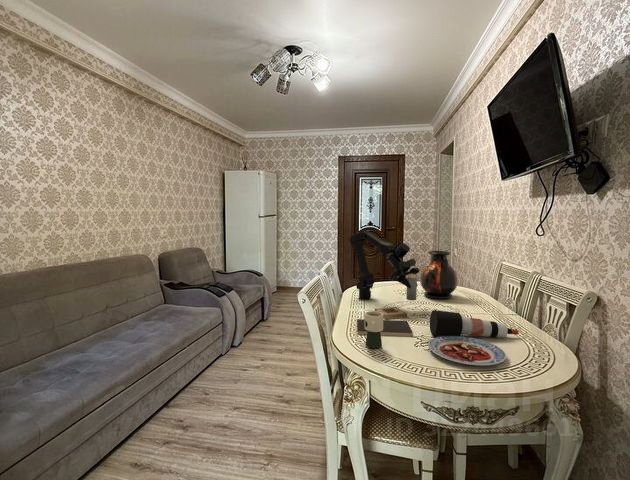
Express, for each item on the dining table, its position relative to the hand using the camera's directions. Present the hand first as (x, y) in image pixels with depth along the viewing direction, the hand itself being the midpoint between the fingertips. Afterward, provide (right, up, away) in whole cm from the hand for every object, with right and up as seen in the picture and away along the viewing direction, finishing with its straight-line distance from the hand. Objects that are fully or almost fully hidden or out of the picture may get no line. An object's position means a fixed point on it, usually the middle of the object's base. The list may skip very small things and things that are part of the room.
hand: (413, 287), depth 172 cm
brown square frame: (-13, -14, -3) cm, 19 cm away
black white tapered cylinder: (+15, -16, -33) cm, 40 cm away
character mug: (-28, -17, -43) cm, 54 cm away
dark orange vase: (+24, -11, +32) cm, 42 cm away
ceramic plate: (+4, -18, -50) cm, 53 cm away
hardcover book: (-21, -16, -23) cm, 35 cm away
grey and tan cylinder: (-1, -7, +2) cm, 7 cm away
